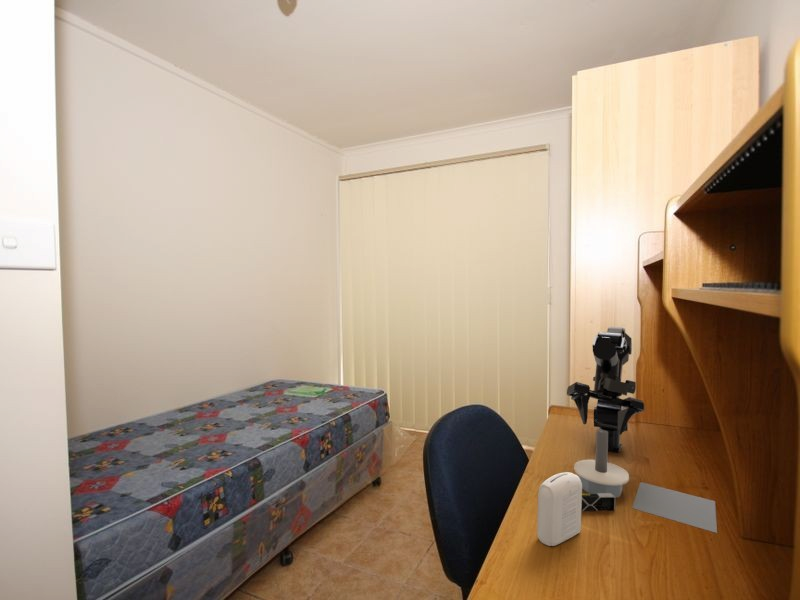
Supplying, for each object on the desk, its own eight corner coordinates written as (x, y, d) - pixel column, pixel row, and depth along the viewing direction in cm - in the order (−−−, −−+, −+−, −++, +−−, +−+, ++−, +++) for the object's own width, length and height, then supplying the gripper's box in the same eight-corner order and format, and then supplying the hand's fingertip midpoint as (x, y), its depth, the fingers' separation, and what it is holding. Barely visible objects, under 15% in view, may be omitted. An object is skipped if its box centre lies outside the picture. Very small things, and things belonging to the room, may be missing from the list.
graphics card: (562, 515, 90) (565, 497, 88) (558, 506, 92) (560, 488, 91) (614, 514, 90) (618, 496, 89) (608, 505, 93) (612, 487, 91)
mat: (640, 483, 103) (640, 481, 103) (714, 502, 95) (715, 501, 95) (632, 509, 91) (632, 507, 91) (717, 534, 82) (717, 532, 82)
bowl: (584, 477, 107) (585, 462, 106) (623, 487, 101) (624, 471, 101) (576, 491, 99) (576, 475, 99) (617, 503, 94) (618, 486, 94)
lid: (596, 459, 108) (597, 420, 108) (640, 479, 97) (641, 435, 97) (563, 468, 103) (564, 427, 102) (606, 490, 92) (608, 444, 92)
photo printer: (565, 522, 87) (566, 464, 86) (584, 532, 83) (585, 472, 82) (533, 538, 81) (535, 477, 80) (552, 550, 77) (553, 486, 77)
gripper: (586, 356, 108) (579, 414, 102) (657, 376, 106) (656, 436, 100) (569, 367, 118) (562, 420, 112) (634, 386, 116) (631, 441, 110)
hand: (602, 429), depth 108 cm, fingers open, 9 cm apart
